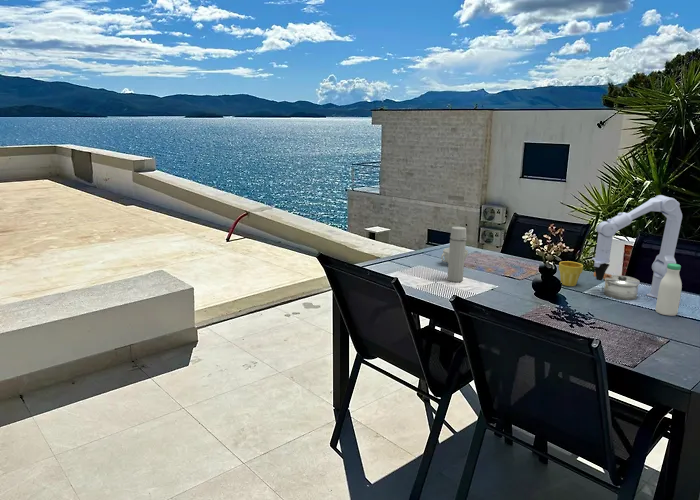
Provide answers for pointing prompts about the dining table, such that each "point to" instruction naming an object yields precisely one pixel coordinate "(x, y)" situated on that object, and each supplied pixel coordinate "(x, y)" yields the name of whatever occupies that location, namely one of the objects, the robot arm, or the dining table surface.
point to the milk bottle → (669, 291)
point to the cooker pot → (620, 291)
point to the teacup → (446, 255)
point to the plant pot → (570, 272)
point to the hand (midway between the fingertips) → (599, 279)
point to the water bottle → (456, 254)
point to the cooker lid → (620, 280)
